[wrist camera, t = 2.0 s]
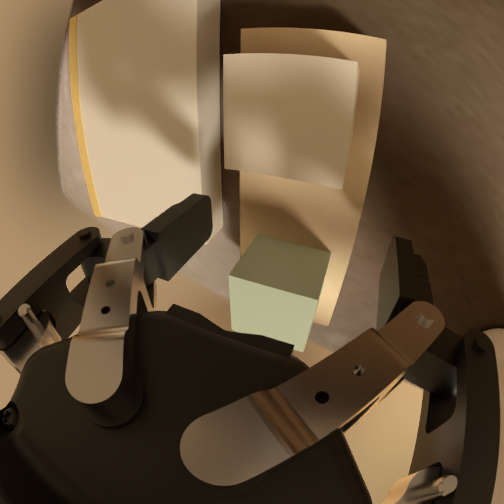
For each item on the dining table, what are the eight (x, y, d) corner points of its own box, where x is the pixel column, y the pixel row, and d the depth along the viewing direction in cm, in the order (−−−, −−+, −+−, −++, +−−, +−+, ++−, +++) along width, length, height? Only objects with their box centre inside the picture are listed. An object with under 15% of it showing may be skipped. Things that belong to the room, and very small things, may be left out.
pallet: (270, 39, 12) (240, 28, 9) (380, 51, 10) (386, 39, 7) (261, 265, 21) (240, 300, 18) (337, 285, 20) (328, 326, 17)
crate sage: (257, 234, 15) (228, 275, 12) (331, 252, 14) (317, 300, 11) (255, 288, 17) (231, 329, 15) (317, 305, 16) (303, 352, 13)
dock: (93, 18, 13) (69, 19, 11) (221, -26, 9) (197, -38, 7) (113, 202, 24) (94, 215, 22) (223, 226, 20) (205, 245, 18)
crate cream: (262, 59, 9) (223, 54, 7) (359, 69, 8) (357, 61, 6) (260, 145, 12) (224, 168, 9) (348, 160, 11) (342, 189, 8)
